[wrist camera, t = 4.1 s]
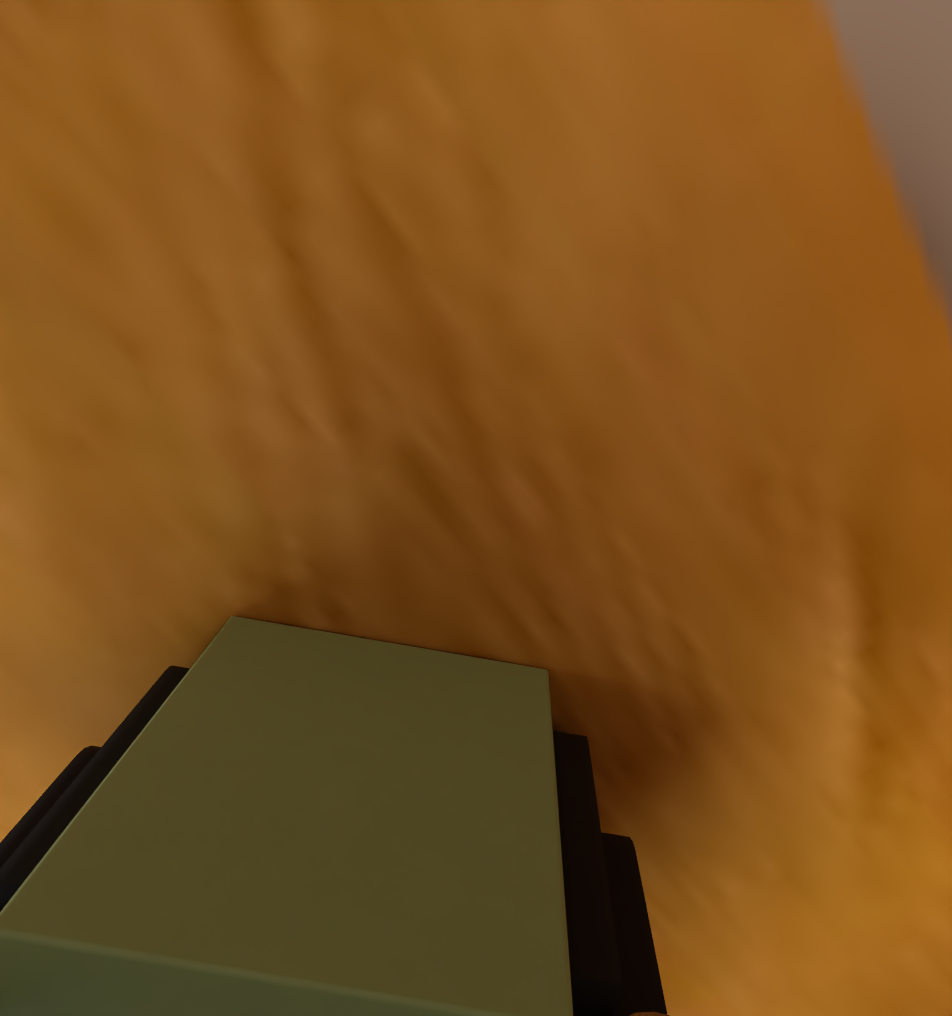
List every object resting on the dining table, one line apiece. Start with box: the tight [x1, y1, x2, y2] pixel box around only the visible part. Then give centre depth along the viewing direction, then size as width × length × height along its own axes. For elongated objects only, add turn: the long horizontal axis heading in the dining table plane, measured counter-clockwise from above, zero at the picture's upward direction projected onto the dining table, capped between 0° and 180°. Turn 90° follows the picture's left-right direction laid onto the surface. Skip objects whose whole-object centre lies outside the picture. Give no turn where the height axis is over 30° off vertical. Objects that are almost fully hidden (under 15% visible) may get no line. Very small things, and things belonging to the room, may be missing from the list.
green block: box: [0, 616, 573, 1016], centre depth 9 cm, size 5×5×5 cm
